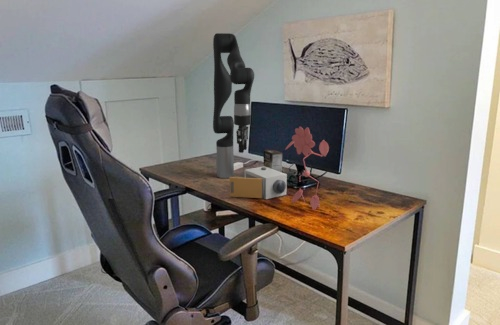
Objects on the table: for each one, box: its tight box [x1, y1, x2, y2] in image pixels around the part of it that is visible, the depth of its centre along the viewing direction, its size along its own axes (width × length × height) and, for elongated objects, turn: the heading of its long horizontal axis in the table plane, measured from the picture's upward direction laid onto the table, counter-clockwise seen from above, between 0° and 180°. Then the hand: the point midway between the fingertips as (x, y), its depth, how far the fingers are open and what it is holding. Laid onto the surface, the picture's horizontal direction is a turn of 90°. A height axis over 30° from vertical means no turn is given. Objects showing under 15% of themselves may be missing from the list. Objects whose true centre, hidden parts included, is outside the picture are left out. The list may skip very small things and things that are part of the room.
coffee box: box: [263, 149, 283, 173], centre depth 201 cm, size 9×6×16 cm
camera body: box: [243, 165, 288, 200], centre depth 183 cm, size 20×12×11 cm, turn 33°
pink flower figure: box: [284, 126, 330, 217], centre depth 159 cm, size 15×26×35 cm, turn 35°
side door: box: [228, 176, 264, 199], centre depth 175 cm, size 16×2×9 cm, turn 78°
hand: (242, 150), depth 174 cm, fingers open, 5 cm apart
